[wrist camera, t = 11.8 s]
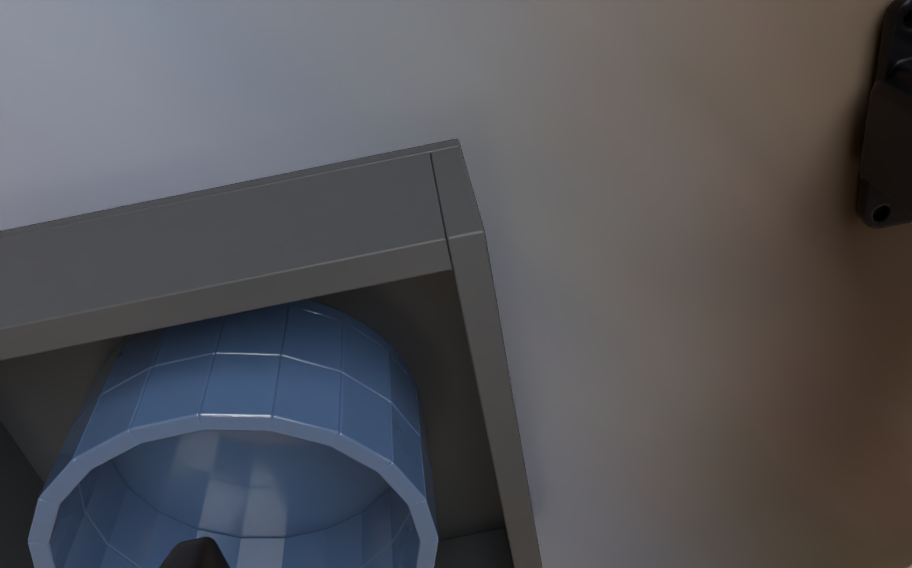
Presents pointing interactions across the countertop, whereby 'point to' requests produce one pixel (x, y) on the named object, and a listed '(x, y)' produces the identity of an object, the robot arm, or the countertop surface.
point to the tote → (268, 284)
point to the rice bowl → (245, 449)
